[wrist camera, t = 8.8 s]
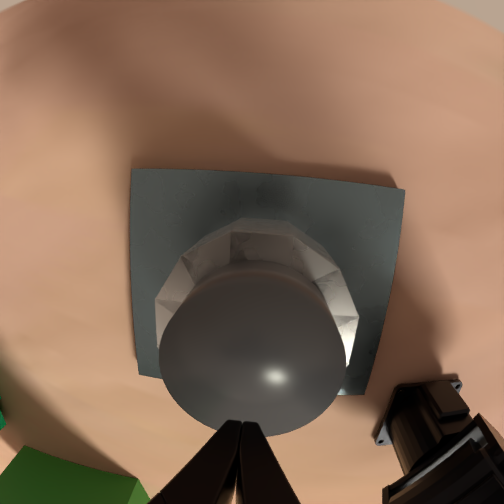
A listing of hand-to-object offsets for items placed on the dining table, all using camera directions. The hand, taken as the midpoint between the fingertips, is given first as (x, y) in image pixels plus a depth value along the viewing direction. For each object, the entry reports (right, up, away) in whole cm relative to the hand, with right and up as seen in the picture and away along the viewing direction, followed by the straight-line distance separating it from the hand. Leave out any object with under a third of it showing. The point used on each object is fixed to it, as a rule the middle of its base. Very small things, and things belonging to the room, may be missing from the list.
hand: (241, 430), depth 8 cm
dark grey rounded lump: (+1, +2, +8) cm, 9 cm away
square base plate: (+1, +3, +12) cm, 12 cm away
